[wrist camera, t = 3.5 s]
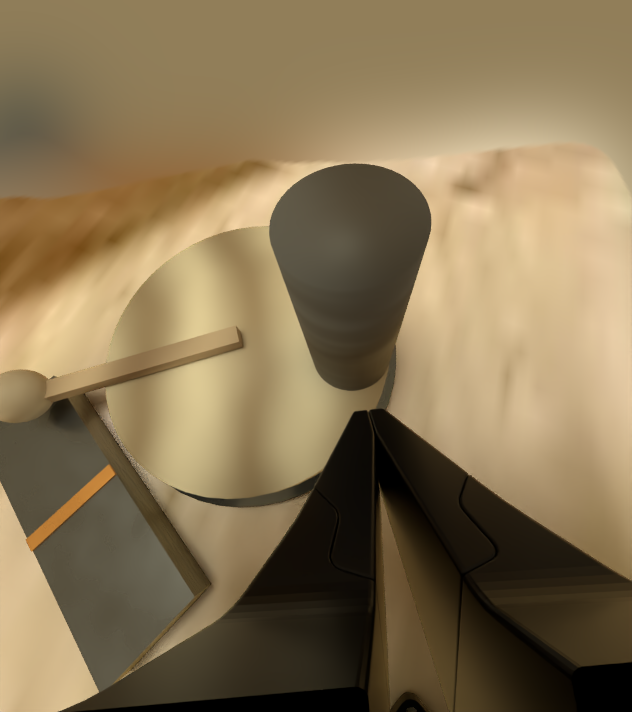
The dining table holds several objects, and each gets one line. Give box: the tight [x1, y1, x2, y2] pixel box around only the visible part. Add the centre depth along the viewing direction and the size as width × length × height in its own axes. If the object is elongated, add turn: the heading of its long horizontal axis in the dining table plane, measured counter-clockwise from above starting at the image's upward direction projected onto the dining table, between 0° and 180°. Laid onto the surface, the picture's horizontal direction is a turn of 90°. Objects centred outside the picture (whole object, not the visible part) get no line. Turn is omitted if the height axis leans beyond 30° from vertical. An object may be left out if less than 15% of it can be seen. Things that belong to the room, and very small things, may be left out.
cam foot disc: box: [0, 164, 431, 499], centre depth 14 cm, size 21×16×10 cm
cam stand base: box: [0, 345, 396, 692], centre depth 18 cm, size 23×17×2 cm
